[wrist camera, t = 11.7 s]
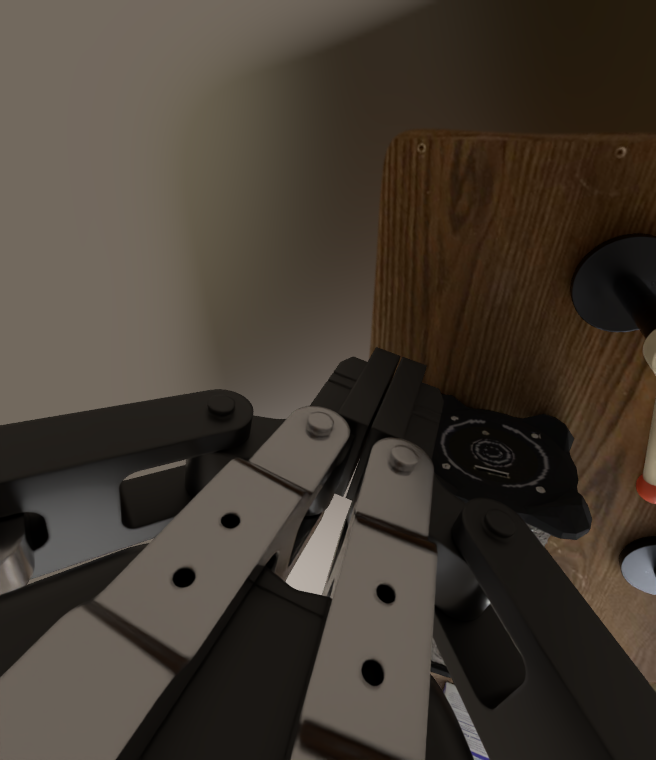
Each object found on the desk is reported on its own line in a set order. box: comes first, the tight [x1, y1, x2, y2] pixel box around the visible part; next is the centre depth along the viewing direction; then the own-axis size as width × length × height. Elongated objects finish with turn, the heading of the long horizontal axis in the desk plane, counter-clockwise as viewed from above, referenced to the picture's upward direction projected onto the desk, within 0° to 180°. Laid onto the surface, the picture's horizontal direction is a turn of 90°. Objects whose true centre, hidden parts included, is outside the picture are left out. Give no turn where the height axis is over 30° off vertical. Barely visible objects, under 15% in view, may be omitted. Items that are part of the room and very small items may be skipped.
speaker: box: [430, 394, 592, 678], centre depth 46 cm, size 15×29×15 cm, turn 178°
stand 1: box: [570, 234, 656, 339], centre depth 31 cm, size 8×8×13 cm
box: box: [443, 682, 490, 760], centre depth 69 cm, size 8×4×9 cm, turn 87°
